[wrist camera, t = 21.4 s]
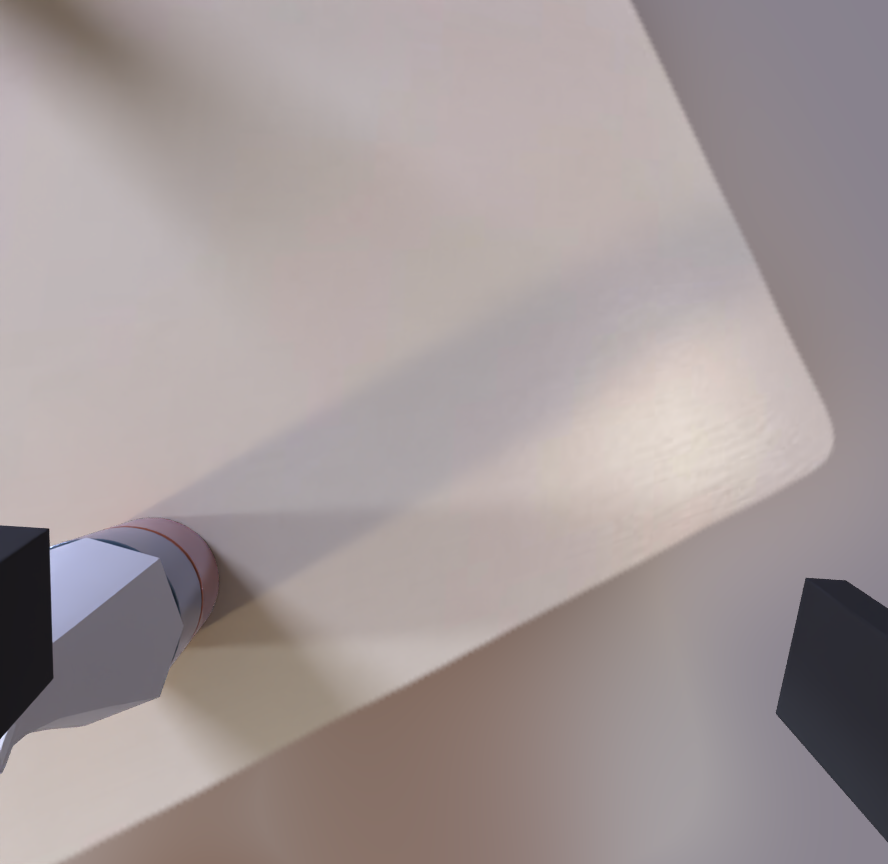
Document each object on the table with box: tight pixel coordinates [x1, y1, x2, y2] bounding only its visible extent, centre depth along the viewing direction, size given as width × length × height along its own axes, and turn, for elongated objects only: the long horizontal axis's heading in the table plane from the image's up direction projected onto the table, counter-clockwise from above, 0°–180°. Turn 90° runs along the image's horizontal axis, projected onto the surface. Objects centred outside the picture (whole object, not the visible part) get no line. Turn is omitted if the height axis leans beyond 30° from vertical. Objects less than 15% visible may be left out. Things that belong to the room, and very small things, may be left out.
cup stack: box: [50, 518, 219, 669], centre depth 31 cm, size 7×7×9 cm
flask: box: [0, 537, 184, 774], centre depth 22 cm, size 7×7×10 cm
